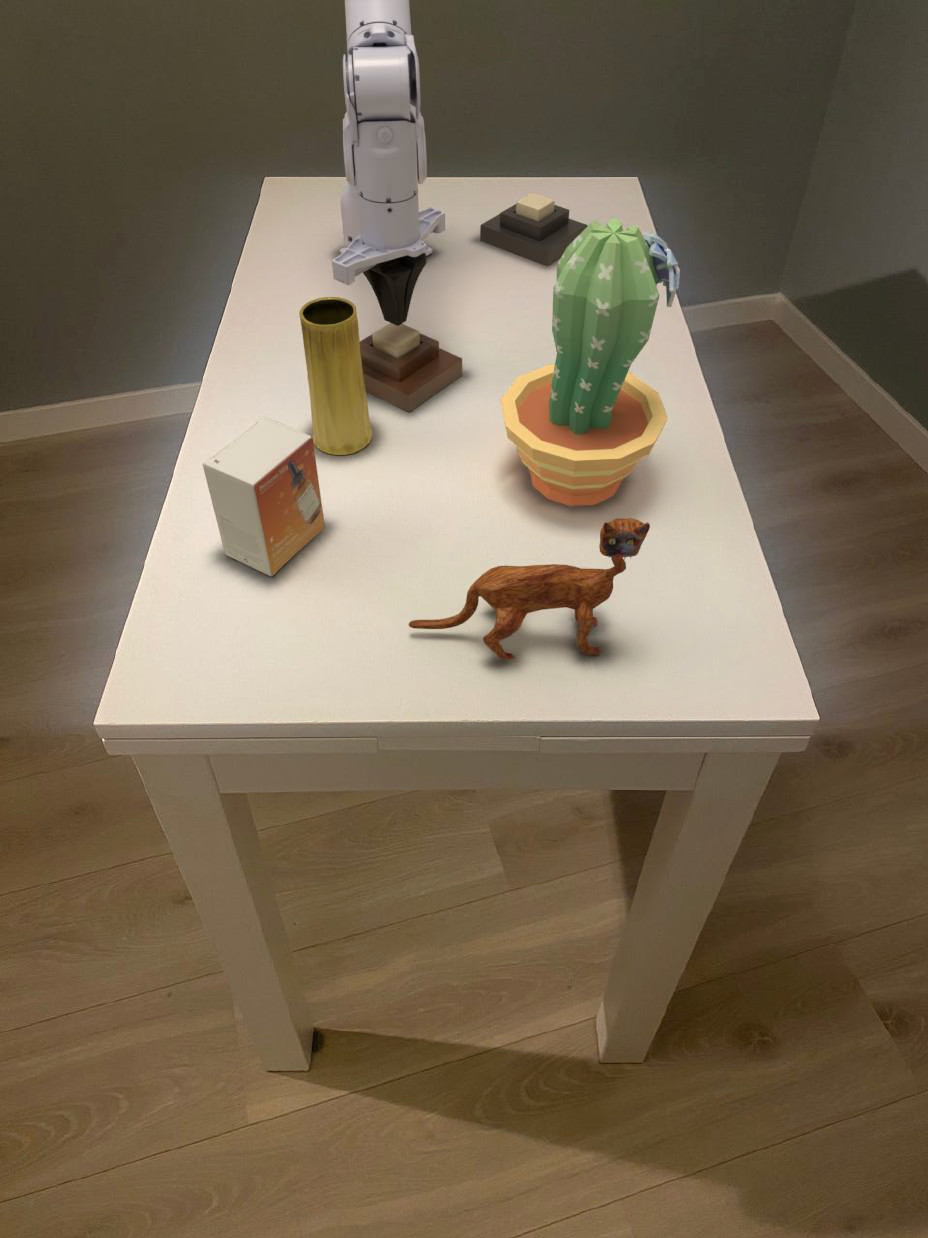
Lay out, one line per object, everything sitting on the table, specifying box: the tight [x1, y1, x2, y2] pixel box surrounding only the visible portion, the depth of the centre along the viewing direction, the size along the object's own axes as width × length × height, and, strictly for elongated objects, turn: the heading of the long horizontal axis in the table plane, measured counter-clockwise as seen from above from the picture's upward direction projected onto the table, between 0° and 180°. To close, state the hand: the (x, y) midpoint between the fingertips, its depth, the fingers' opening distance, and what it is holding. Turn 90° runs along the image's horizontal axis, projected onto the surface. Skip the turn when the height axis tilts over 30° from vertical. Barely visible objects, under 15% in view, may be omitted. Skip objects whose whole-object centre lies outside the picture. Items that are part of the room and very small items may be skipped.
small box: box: [202, 416, 326, 577], centre depth 82 cm, size 8×6×10 cm
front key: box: [371, 322, 421, 359], centre depth 100 cm, size 4×4×2 cm
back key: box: [515, 192, 556, 222], centre depth 121 cm, size 4×4×2 cm
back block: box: [479, 203, 589, 267], centre depth 123 cm, size 11×9×4 cm
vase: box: [299, 296, 373, 456], centre depth 90 cm, size 6×6×14 cm
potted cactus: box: [500, 217, 681, 507], centre depth 83 cm, size 15×15×25 cm
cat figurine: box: [408, 517, 651, 660], centre depth 73 cm, size 18×7×14 cm, turn 89°
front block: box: [359, 325, 463, 414], centre depth 102 cm, size 11×9×4 cm
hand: (395, 320), depth 98 cm, fingers closed
